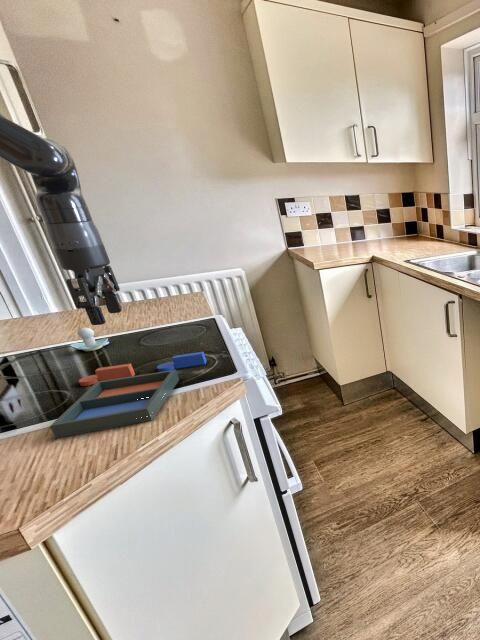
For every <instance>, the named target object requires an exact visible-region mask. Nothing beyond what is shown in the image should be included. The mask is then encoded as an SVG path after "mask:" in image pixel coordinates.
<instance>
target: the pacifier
mask: <svg viewBox="0 0 480 640" xmlns="http://www.w3.org/2000/svg"><path fill="white" fill-rule="evenodd" d="M77 335H78V337H80V338H81V339H82V341H83V342H73V343H70V347H71V348H72V349H76V350H78V351H80V350H81V351H83V352H92V351H97V350H99V349H101V348H103V347H104V346H107V345H109V344H110V341H108V340H109V337H105V338H101V339H98V340H95V337H94V336H95V331H94V330H93V329H92V328H89V327H82V328H79V329H78V331H77Z"/></svg>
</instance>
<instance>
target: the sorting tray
mask: <svg viewBox="0 0 480 640" xmlns="http://www.w3.org/2000/svg"><path fill="white" fill-rule="evenodd" d="M179 381H180V378H179V375H178V372H177V369H174V370H170V371H164V372H158V371H157V372H152V373H145V374H138V375H134V376H131V377H125V378H118V379H112V380H105V381H99V382H96V383H95V384H93V385H91V387H90V388H89V389H88V390H86V391H85V392H84V393H83V394H82V395H81V396H80V397H79V398H78V399H77V400H76V401H75V402H73V404H72V405H70V406H69V407H68V408H67V409H66V410H65V411H64V412H63V413H62V414H61V415H60V416H58V418H56V419H55V420H54V422H52V423H51V424H50V425H49V428H50V430H51V432H52V434H53V435H54V437H55V439H59V438H65V437H70V436H75V435H76V436H77V435H81V434H86V433H91V432H97V431H104V430H109V429H112V428H118V427H119V428H120V427H123V426H124V427H125V426H129V425H134V424H139V423H146V422H151V421H153V420H154V418H155V416H156V415H157V414H158V412H159V411H160V409H161V408H162V407H163V404H164V403H165V402H166V400H167V399H168V397H169V396H170V394H171V393H172V392H173V390H174V389H175V387H176V386H177V384H178V383H179ZM165 393H166V394H165ZM164 394H165V395H164ZM163 396H164V397H163ZM146 397H149V398H146ZM162 397H163V398H162ZM141 398H144V399H141ZM137 399H138V400H137ZM161 399H162V400H161ZM159 402H160V403H159ZM152 412H153V413H152ZM150 415H151V416H150ZM146 416H148V417H146ZM141 417H142V418H141ZM136 418H137V419H136Z"/></svg>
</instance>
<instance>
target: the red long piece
mask: <svg viewBox="0 0 480 640" xmlns="http://www.w3.org/2000/svg"><path fill="white" fill-rule="evenodd" d="M94 373H95V374H90V375H87V376H84V377H81V378H79V379H78V383H79V385H80V386H81V387H86V386H87V387H88V386H93V385H94V384H95V383H96V382H99V381H105V380H112V379H118V378H125V377H131V376H136V373H135V370H134V367H133V366H132V363H124V364H119V365H112V366H104V367H103V366H102V367H98V368H96V369H95V371H94Z"/></svg>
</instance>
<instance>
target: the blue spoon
mask: <svg viewBox="0 0 480 640" xmlns="http://www.w3.org/2000/svg"><path fill="white" fill-rule="evenodd" d="M207 362H208V361H207V358H206V355H205V352H204V351H198V352H191V353H183V354H177V355H173V356H172V361H168V362H163V363H161V364H158V365H157V366H156V369H157V372H164V371H170V370H178V369H183V368H184V369H185V368H190V367H196V366H203V365H206V364H207Z"/></svg>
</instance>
